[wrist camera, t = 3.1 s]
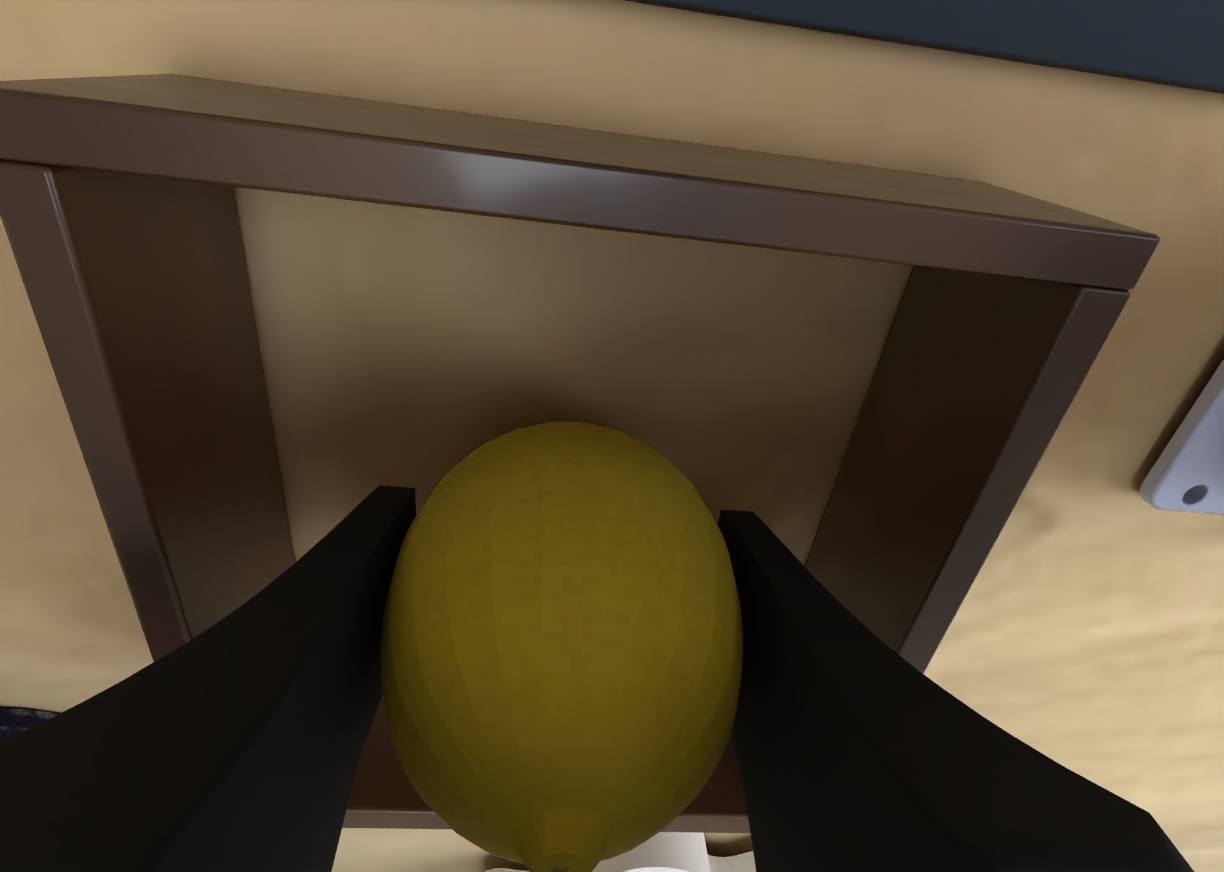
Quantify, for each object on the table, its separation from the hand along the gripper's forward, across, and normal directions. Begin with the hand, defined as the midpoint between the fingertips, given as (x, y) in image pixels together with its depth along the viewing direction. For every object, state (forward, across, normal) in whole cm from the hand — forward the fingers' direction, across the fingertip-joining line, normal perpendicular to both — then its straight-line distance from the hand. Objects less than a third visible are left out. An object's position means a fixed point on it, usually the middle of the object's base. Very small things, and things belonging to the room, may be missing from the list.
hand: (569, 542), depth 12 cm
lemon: (+3, 0, 0) cm, 3 cm away
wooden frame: (+2, 0, 0) cm, 2 cm away
